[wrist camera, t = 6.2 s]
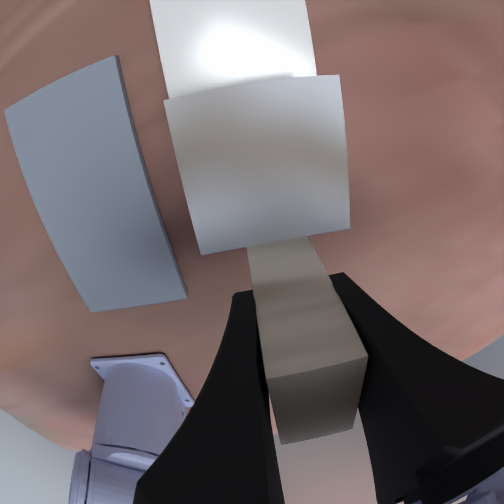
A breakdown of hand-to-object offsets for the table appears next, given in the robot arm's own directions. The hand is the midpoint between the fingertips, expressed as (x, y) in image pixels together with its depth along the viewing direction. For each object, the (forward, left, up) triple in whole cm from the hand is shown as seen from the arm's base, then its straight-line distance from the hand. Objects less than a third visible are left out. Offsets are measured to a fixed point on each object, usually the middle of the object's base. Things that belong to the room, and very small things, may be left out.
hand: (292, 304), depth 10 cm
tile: (+6, 0, -8) cm, 10 cm away
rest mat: (+2, +10, -9) cm, 14 cm away
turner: (+2, 0, -3) cm, 4 cm away
